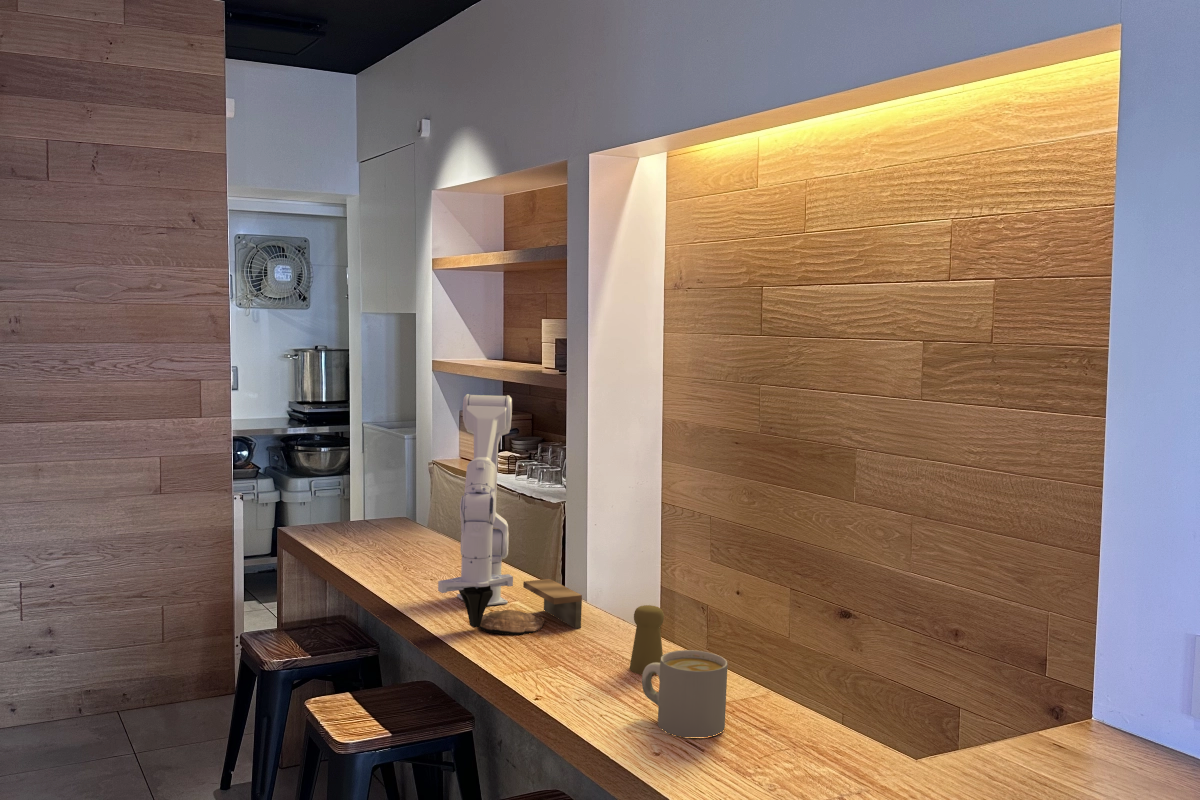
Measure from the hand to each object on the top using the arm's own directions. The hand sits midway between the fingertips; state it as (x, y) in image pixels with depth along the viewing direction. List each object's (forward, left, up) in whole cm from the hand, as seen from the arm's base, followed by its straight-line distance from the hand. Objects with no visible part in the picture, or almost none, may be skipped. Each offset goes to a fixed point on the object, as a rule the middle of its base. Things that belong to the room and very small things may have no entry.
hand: (474, 625), depth 199 cm
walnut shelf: (-1, +17, -1) cm, 17 cm away
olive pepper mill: (+32, +19, -1) cm, 37 cm away
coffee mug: (+55, +11, -1) cm, 56 cm away
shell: (0, +7, -2) cm, 7 cm away
